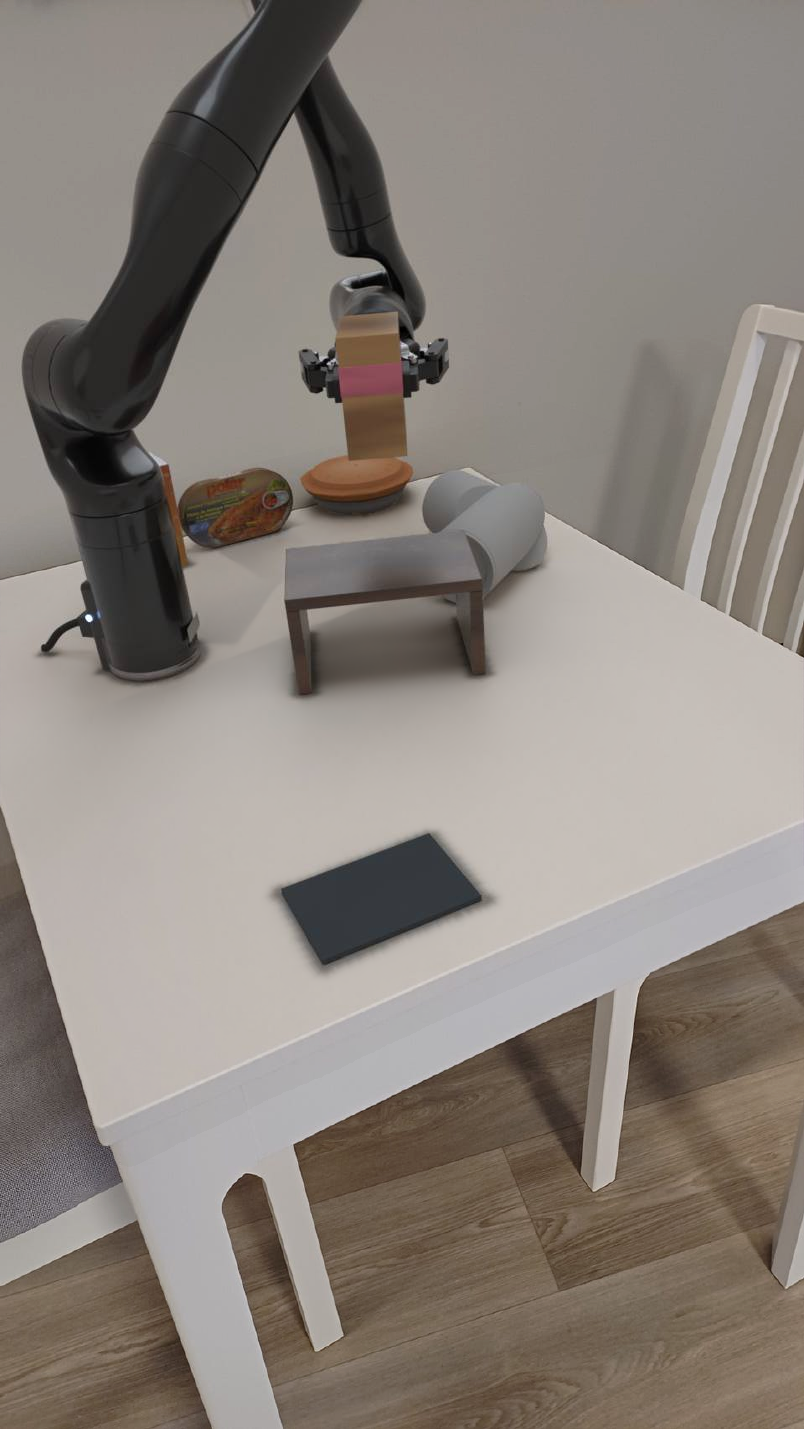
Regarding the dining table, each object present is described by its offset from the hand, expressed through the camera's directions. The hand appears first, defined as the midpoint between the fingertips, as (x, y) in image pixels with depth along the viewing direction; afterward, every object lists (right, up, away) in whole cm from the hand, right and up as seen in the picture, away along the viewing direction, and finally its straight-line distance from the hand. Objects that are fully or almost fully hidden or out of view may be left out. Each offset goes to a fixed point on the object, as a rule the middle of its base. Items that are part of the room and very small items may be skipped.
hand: (372, 388), depth 82 cm
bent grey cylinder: (+11, -10, +34) cm, 37 cm away
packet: (0, -3, +5) cm, 6 cm away
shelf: (+1, -21, +18) cm, 28 cm away
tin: (-19, -4, +48) cm, 51 cm away
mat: (+1, -40, -12) cm, 42 cm away
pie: (-3, +3, +56) cm, 56 cm away
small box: (-29, -9, +42) cm, 52 cm away
